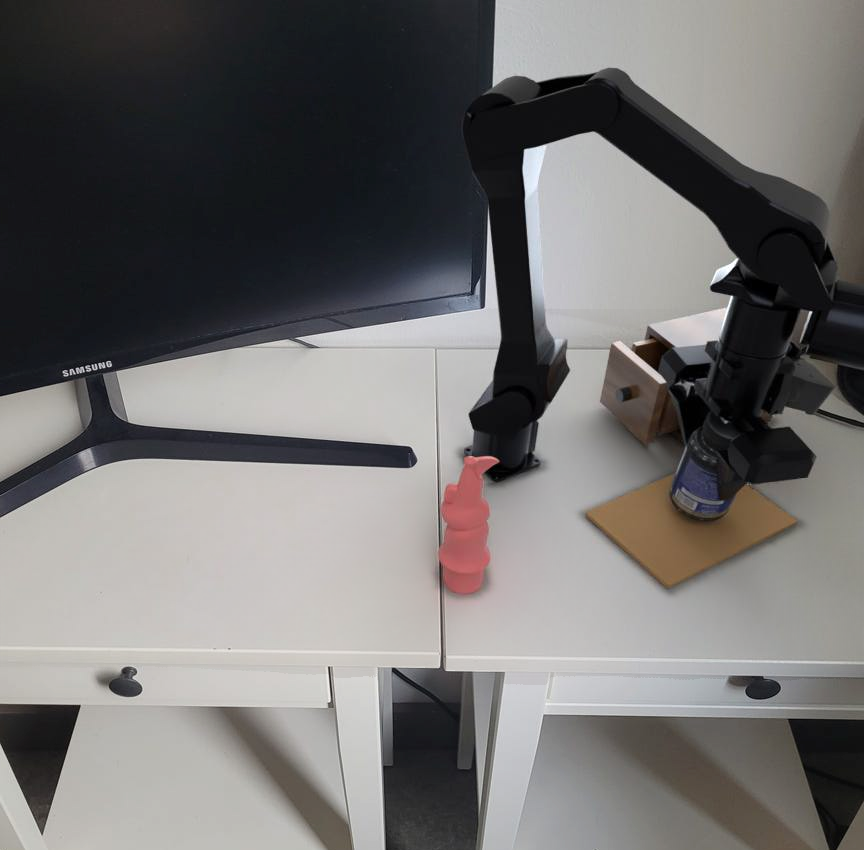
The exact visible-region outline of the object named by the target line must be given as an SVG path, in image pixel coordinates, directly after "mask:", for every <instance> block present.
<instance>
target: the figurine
mask: <svg viewBox="0 0 864 850" xmlns="http://www.w3.org/2000/svg"><path fill="white" fill-rule="evenodd" d="M462 462H463V467H462V470H461V473H460V475H459V479H458V482H457V483H453V482H451V483H448V484H447V485H446V486H445V489H444V493H443V500H442V502H441V503H440V504H441V505H440V515H441V518H442V520H443V521H444V523H445V524H446V525H445V528H444V534H443V541H442V543H441V544H440V546H439V548H438V550H437V556H438V560H439V562H440V564H441V565H442V582H443V584H444V586H445V587H446V588H447V589H448V590H449V591H451V592H453V593H456V594H459V595H460V594H461V595H468V594H472V593H475V592H476V591H478V590H479V589H481V587H482V585H483V582H484V574H485V569H486V568H487V567H488V565H490V562H491V551H490V548H489V547H488V545H487V542H488V537H489V533H490V526H489V522H488V521H489V518H490V515H491V508H490V505H489V503H488V501H487V500H486V498H485V497H484V496H483V490H484V485H485V483H484V477H483V476H482V475H483V474H485V473H484V472H485V471H486V470H488V469H489V468H490V467H492V466H493V465H495V464H497V463H499V460H498V459H496V458H494V457H491V456H482V457H477V458H475V457H473V456H465V457H464V458H463V461H462Z"/></svg>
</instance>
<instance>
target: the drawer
mask: <svg viewBox="0 0 864 850" xmlns="http://www.w3.org/2000/svg"><path fill="white" fill-rule="evenodd" d="M669 350H670V349H669V348H667V347H666V346H665V345H664V344H662V343H661V342H660V341H659V340H657V339H656V338H653V339H649V340H645V339H644V340H640V341H636V342H633V343H632V345H631V349H630V348H629V347H628V346H626V345H625V344H624V343H623V342H622V341H621V340H618V341H614V342H611V343H610V347H609V354H608V358H607V364H606V367H605V374H604V378H603V384H602V388H601V394H600V399H599V403H601V405H602V406H604V407H605V408H606V410H608V412H610V413H611V414H612V416H614V417H615V418H616V419H617V420H618V421H620V422H621V424H623V426H624V427H625V428H627V429H628V430H629V431H630V432H631V433H632V435H634V437H636V438H637V439H638V440H639V441H640V442H641V443H643V445H644V446H647V445H650V444H653V443H654V442H655V439H656V434H657V433H658V434H659V435H664V434H669V433H672V431H676V430H679V429H680V426H679V422H678V418H677V415H676V411H675V408H674V405H673V401H672V398H671V395H670V393H669V392H668V387H669V386H670V385H668V384H667V382H666V381H665V380H664V379H663V377H662V376H661V375H660V374H659V372H658V370H659V366H660V362H661V358H662V356H663V355H664V354H665V353H667V352H668V351H669ZM675 385H676V384H675Z"/></svg>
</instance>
